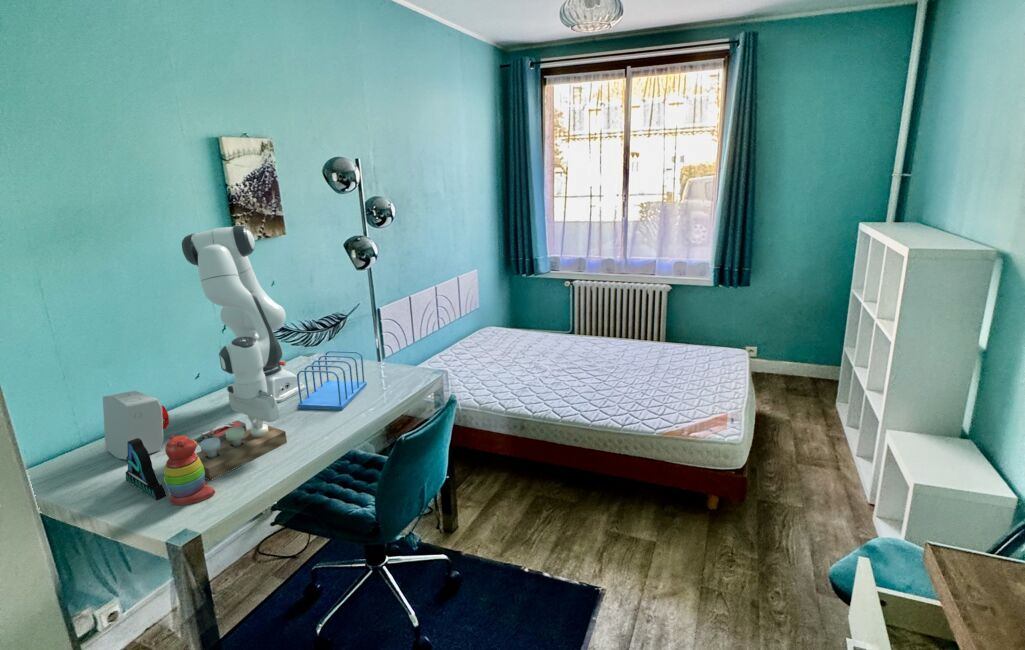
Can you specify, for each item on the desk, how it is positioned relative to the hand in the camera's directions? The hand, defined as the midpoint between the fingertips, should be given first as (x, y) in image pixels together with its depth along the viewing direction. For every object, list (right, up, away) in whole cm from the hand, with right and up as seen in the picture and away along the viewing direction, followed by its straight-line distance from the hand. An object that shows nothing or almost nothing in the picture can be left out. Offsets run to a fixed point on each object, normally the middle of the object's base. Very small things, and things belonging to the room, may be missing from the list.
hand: (257, 428), depth 173 cm
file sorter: (+12, +5, +39) cm, 41 cm away
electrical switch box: (-38, -7, +2) cm, 38 cm away
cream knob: (0, -4, +2) cm, 5 cm away
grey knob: (-8, -6, -12) cm, 16 cm away
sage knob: (-4, -4, -6) cm, 8 cm away
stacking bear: (-7, -14, -25) cm, 29 cm away
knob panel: (-4, -8, -5) cm, 10 cm away
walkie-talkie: (-17, -5, +7) cm, 19 cm away
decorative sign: (-22, -13, -21) cm, 33 cm away
